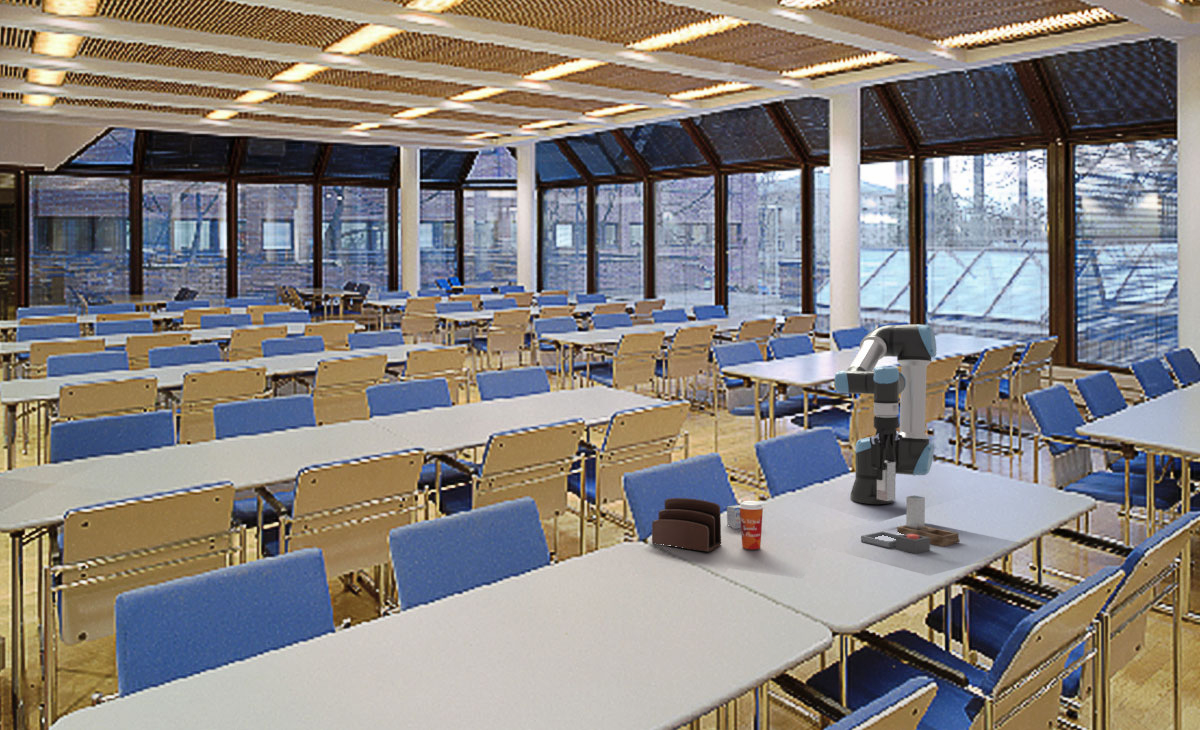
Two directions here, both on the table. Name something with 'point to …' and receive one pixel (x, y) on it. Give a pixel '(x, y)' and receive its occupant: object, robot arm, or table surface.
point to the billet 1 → (888, 482)
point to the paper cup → (751, 523)
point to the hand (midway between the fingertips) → (886, 488)
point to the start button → (912, 536)
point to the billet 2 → (915, 513)
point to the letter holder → (688, 524)
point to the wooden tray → (933, 535)
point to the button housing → (913, 544)
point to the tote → (886, 544)
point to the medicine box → (733, 516)
